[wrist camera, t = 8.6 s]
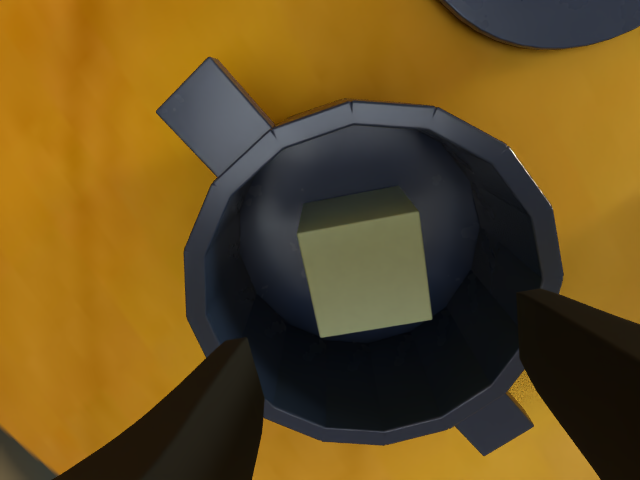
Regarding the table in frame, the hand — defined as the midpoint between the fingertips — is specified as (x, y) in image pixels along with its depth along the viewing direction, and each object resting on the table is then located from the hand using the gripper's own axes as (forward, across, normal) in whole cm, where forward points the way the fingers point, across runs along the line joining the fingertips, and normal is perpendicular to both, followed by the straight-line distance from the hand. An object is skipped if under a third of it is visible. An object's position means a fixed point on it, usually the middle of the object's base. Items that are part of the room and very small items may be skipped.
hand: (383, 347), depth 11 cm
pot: (+9, 0, 0) cm, 9 cm away
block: (+9, 0, 0) cm, 9 cm away
